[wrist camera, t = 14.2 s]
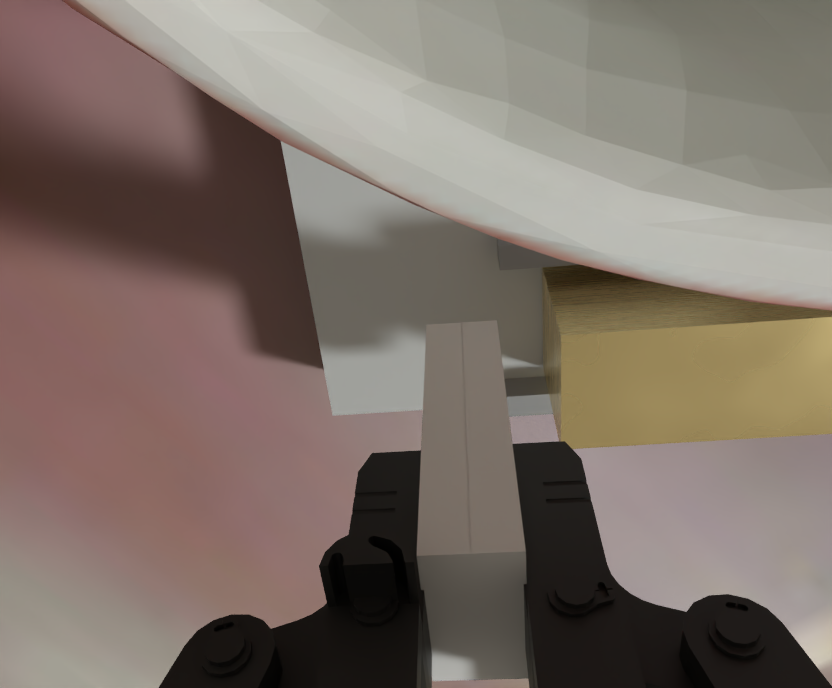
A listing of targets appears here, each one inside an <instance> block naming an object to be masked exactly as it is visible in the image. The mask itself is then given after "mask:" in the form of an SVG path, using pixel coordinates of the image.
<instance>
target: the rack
mask: <svg viewBox="0 0 832 688" xmlns="http://www.w3.org/2000/svg"><path fill="white" fill-rule="evenodd" d="M281 145H282V150H283V156H284V161H285V166H286V172H287V177H288V182H289V187H290V193H291V198H292V203H293V209H294V214H295V219H296V224H297V230H298V235H299V240H300V246H301V251H302V256H303V261H304V267H305V272H306V277H307V282H308V288H309V293H310V298H311V304H312V309H313V314H314V319H315V325H316V330H317V335H318V341H319V346H320V351H321V356H322V362H323V367H324V372H325V378H326V383H327V388H328V393H329V399H330V404H331V409H332V415H333V416H334V415H350V414H365V413H381V412H397V411H413V410H423V395H424V372H425V348H426V325H430V324H446V323H461V322H477V321H492V320H497V325H498V333H499V341H500V349H501V357H502V365H503V373H504V381H505V389H506V397H507V405H508V413H509V417H512V416H528V415H544V414H553V411H552V406H551V401H550V397H549V392H548V388H547V383H546V379H545V374H544V369H543V310H542V267H554V266H567V265H579V264H575V263H571V262H567V261H563V260H560V259H557V258H554V257H551V256H548V255H545V254H542V253H539V252H536V251H533V250H530V249H527V248H524V247H521V246H518V245H515V244H512V243H509V242H506V241H503V240H501V239H498V238H495V237H493V236H490V235H488V234H485V233H483V232H480V231H478V230H475V229H473V228H470V227H468V226H465V225H463V224H460V223H458V222H455V221H453V220H451V219H448V218H446V217H443V216H441V215H438V214H436V213H433V212H431V211H428V210H426V209H423V208H421V207H418V206H416V205H413V204H411V203H409V202H407V201H405V200H403V199H401V198H399V197H397V196H394V195H392V194H390V193H388V192H386V191H384V190H382V189H380V188H378V187H376V186H374V185H371V184H369V183H367V182H365V181H363V180H361V179H359V178H357V177H355V176H353V175H351V174H349V173H346V172H344V171H342V170H340V169H338V168H336V167H334V166H332V165H330V164H328V163H326V162H323V161H321V160H319V159H317V158H315V157H313V156H311V155H309V154H307V153H305V152H303V151H300V150H298V149H296V148H294V147H292V146H290V145H288V144H286V143H284V142H282V141H281Z"/></svg>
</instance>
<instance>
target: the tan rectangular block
mask: <svg viewBox="0 0 832 688" xmlns="http://www.w3.org/2000/svg"><path fill="white" fill-rule="evenodd" d="M542 310H543V369H544V374H545V379H546V383H547V388H548V392H549V397H550V401H551V406H552V411H553V415H554V420H555V424H556V429H557V433H558V438H559V442H560V441H565V442H566V443H567V444H568V445H569V446H570V447H571V448H572V449H578V448H595V447H612V446H630V445H647V444H664V443H681V442H698V441H715V440H732V439H750V438H767V437H784V436H801V435H818V434H832V311H830V310H821V309H812V308H803V307H794V306H785V305H776V304H767V303H758V302H750V301H745V300H740V299H735V298H730V297H725V296H720V295H715V294H710V293H705V292H700V291H695V290H690V289H685V288H680V287H675V286H670V285H665V284H660V283H655V282H650V281H645V280H640V279H635V278H631V277H627V276H623V275H619V274H615V273H611V272H607V271H603V270H599V269H595V268H591V267H587V266H583V265H567V266H554V267H542Z"/></svg>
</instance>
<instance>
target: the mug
mask: <svg viewBox="0 0 832 688" xmlns="http://www.w3.org/2000/svg"><path fill="white" fill-rule="evenodd" d="M62 1H64V2H65V3H66V4H67V5H69V6H70V7H71V8H72V9H74V10H76V11H77V12H79V13H81V14H82V15H84V16H85V17H87V18H89V19H90V20H92V21H93V22H95V23H97V24H98V25H100V26H101V27H103V28H105V29H106V30H108V31H110V32H111V33H113V34H114V35H116V36H118V37H119V38H121V39H122V40H124V41H126V42H127V43H129V44H130V45H132V46H134V47H135V48H137V49H138V50H140V51H142V52H143V53H145V54H147V55H148V56H150V57H151V58H153V59H155V60H156V61H158V62H159V63H161V64H163V65H164V66H166V67H167V68H169V69H171V70H172V71H174V72H176V73H177V74H179V75H180V76H182V77H183V78H185V79H186V80H188V81H189V82H191V83H192V84H193V85H195V86H196V87H198V88H199V89H201V90H202V91H204V92H205V93H207V94H208V95H210V96H211V97H213V98H214V99H216V100H217V101H219V102H220V103H222V104H224V105H225V106H227V107H228V108H230V109H231V110H233V111H235V112H236V113H238V114H239V115H241V116H243V117H244V118H246V119H247V120H249V121H250V122H252V123H254V124H255V125H257V126H258V127H260V128H262V129H263V130H265V131H266V132H268V133H269V134H271V135H273V136H274V137H276V138H277V139H279V140H281V141H282V142H284V143H286V144H288V145H290V146H292V147H294V148H296V149H298V150H300V151H303V152H305V153H307V154H309V155H311V156H313V157H315V158H317V159H319V160H321V161H323V162H326V163H328V164H330V165H332V166H334V167H336V168H338V169H340V170H342V171H344V172H346V173H349V174H351V175H353V176H355V177H357V178H359V179H361V180H363V181H365V182H367V183H369V184H371V185H374V186H376V187H378V188H380V189H382V190H384V191H386V192H388V193H390V194H392V195H394V196H397V197H399V198H401V199H403V200H405V201H407V202H409V203H411V204H413V205H416V206H418V207H421V208H423V209H426V210H428V211H431V212H433V213H436V214H438V215H441V216H443V217H446V218H448V219H451V220H453V221H455V222H458V223H460V224H463V225H465V226H468V227H470V228H473V229H475V230H478V231H480V232H483V233H485V234H488V235H490V236H493V237H495V238H498V239H501V240H503V241H506V242H509V243H512V244H515V245H518V246H521V247H524V248H527V249H530V250H533V251H536V252H539V253H542V254H545V255H548V256H551V257H554V258H557V259H560V260H563V261H567V262H571V263H575V264H579V265H583V266H587V267H591V268H595V269H599V270H603V271H607V272H611V273H615V274H619V275H623V276H627V277H631V278H635V279H640V280H645V281H650V282H655V283H660V284H665V285H670V286H675V287H680V288H685V289H690V290H695V291H700V292H705V293H710V294H715V295H720V296H725V297H730V298H735V299H740V300H745V301H750V302H758V303H767V304H776V305H785V306H794V307H803V308H812V309H821V310H830V311H832V0H62Z"/></svg>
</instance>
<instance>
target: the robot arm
mask: <svg viewBox="0 0 832 688" xmlns="http://www.w3.org/2000/svg"><path fill="white" fill-rule="evenodd" d="M319 568H320V573H321V577H322V582H323V586H324V591H325V595H326V600H327V604H326V605H325V606H324V607H322V608H321V609H319V610H318V611H316V612H315V613H313V614H312V615H309V616H307V617H305V618H302V619H300V620H297V621H294V622H291V623H288V624H285V625H282V626H279V627H276V628H272V629H270V628H269V626H268V625H267V624H266V623H265V622H264V621H263V620H261V619H259V618H256V617H254V616H251V615H229V616H226V617H223V618H219V619H216V620H213V621H212V622H210V623H209V624H207V625H206V626H204V627H203V628H201V629H200V630H198V631H197V632H196V633H195V634H194V635H193V637H192V638H191V639H190V640H189V641H188V642H187V644H186V645H185V646H184V648H183V649H182V651H181V653H180V654H179V656H178V657H177V659H176V661H175V662H174V664H173V666H172V667H171V669H170V670H169V672H168V674H167V675H166V677H165V678H164V680H163V682H162V683H161V685H160V687H159V688H432V680H433V681H453V680H488V679H522V678H529V687H530V688H832V686H831V685H830V683H829V682H828V681H827V680H826V678H825V677H824V676H823V674H822V673H821V672H820V671H819V669H818V668H817V667H816V665H815V664H814V663H813V662H812V660H811V659H810V658H809V656H808V655H807V654H806V653H805V651H804V650H803V649H802V647H801V646H800V645H799V644H798V642H797V641H796V640H795V638H794V637H793V636H792V635H791V633H790V632H789V631H788V629H787V628H786V627H785V626H784V624H783V623H782V622H781V621H780V620H779V619H778V618H777V617H776V616H774V615H773V614H772V613H771V612H770V611H769V610H768V609H767V608H765V607H763V606H761V605H759V604H757V603H755V602H753V601H751V600H749V599H747V598H742V597H738V596H733V595H729V594H726V595H711V596H707V597H705V598H703V599H701V600H698V601H696V602H694V603H693V604H692V606H691V607H690V608H689V609H688V611H687V612H684V611H680V610H676V609H671V608H667V607H663V606H658V605H655V604H652V603H649V602H646V601H643V600H641V599H639V598H637V597H636V596H634V595H632V594H630V593H629V592H628V591H626V590H625V589H624V588H623V587H621V586H620V585H619V584H618V583H617V581H616V580H615V579H614V577H613V576H612V575H611V573H610V570H609V568H608V565H607V562H606V558H605V554H604V550H603V546H602V542H601V538H600V534H599V530H598V526H597V522H596V517H595V513H594V509H593V505H592V502H591V497H590V493H589V489H588V485H587V483H586V477H585V473H584V469H583V464H582V460H581V458H580V457H579V456H578V455H577V454H576V453H575V452H574V451H573V449H572V448H571V447H570V446H569V445H568V444H567V443H566V442H565V441H560V442H541V443H522V444H512V437H511V429H510V421H509V413H508V405H507V397H506V389H505V381H504V373H503V365H502V357H501V349H500V341H499V333H498V325H497V320H492V321H477V322H461V323H446V324H430V325H426V348H425V372H424V395H423V418H422V441H421V451H404V452H385V453H372V454H371V455H370V457H369V458H368V460H367V461H366V462H365V464H364V465H363V466H362V468H361V469H360V470H359V472H358V477H357V484H356V490H355V497H354V503H353V514H352V517H351V523H350V530H349V535H347V536H345V537H343V538H341V539H340V540H338V541H336V542H335V543H334V544H333V545H332V546H331V547H330V548H329V549H328V550H327V551H326V552H325V554H324V556H323V558H322V561H321V563H320V565H319Z"/></svg>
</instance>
